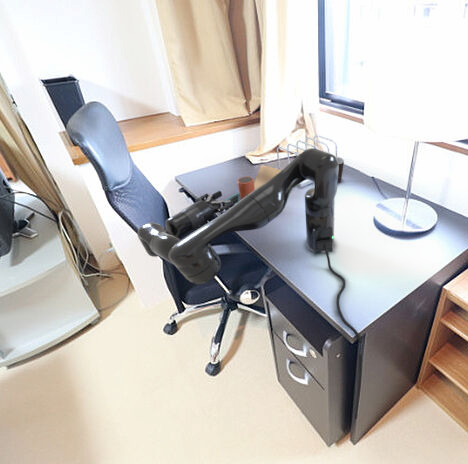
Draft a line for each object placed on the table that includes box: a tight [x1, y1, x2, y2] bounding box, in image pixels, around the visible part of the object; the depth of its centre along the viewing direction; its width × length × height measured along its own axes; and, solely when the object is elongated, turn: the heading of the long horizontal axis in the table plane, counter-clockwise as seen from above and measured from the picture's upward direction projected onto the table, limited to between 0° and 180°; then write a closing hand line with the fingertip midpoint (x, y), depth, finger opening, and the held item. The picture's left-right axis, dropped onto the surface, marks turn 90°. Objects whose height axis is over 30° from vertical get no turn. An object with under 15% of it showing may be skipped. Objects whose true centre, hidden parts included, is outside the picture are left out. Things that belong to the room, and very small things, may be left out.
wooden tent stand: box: [254, 164, 283, 189], centre depth 139 cm, size 10×12×9 cm
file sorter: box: [276, 134, 338, 188], centre depth 151 cm, size 25×17×16 cm
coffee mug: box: [335, 156, 345, 184], centre depth 147 cm, size 12×9×10 cm
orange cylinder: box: [236, 176, 255, 200], centre depth 130 cm, size 12×6×12 cm
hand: (229, 195), depth 122 cm, fingers open, 8 cm apart
